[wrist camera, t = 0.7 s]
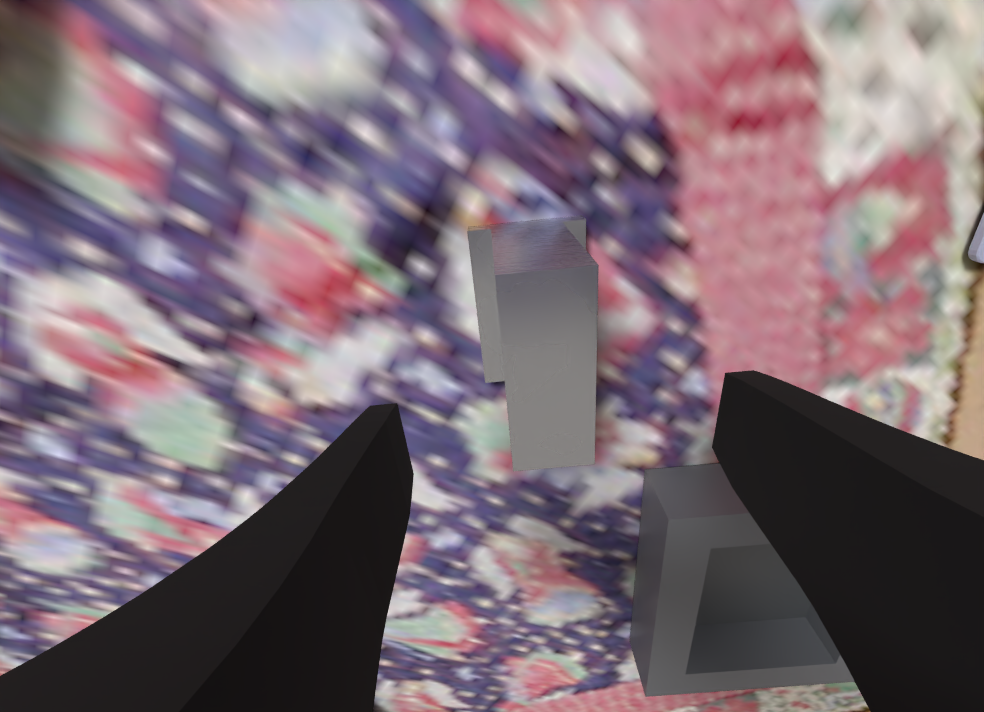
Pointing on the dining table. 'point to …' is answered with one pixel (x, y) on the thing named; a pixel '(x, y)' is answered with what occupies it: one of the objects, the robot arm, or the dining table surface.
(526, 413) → the grey block
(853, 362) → the dining table surface
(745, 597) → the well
